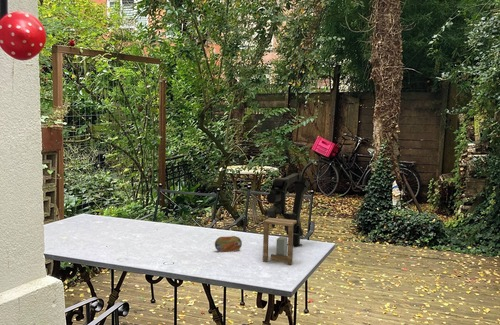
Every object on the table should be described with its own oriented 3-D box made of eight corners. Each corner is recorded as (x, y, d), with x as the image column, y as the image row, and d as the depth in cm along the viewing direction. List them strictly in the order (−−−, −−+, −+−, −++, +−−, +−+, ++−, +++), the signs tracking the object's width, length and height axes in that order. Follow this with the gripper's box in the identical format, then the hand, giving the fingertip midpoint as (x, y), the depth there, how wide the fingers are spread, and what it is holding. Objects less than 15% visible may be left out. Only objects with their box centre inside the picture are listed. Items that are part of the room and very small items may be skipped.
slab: (279, 256, 248) (280, 236, 247) (286, 257, 247) (287, 237, 246) (276, 260, 241) (276, 239, 240) (283, 260, 240) (284, 240, 239)
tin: (215, 252, 253) (215, 237, 252) (214, 251, 256) (214, 236, 255) (241, 251, 257) (242, 236, 256) (240, 249, 260) (240, 235, 259)
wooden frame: (268, 256, 247) (269, 217, 245) (295, 259, 242) (296, 220, 241) (262, 261, 238) (263, 221, 236) (291, 265, 233) (292, 223, 231)
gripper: (257, 200, 254) (257, 228, 256) (283, 205, 241) (282, 234, 242) (271, 198, 262) (271, 225, 263) (297, 203, 249) (296, 231, 250)
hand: (279, 229), depth 255 cm, fingers open, 9 cm apart
